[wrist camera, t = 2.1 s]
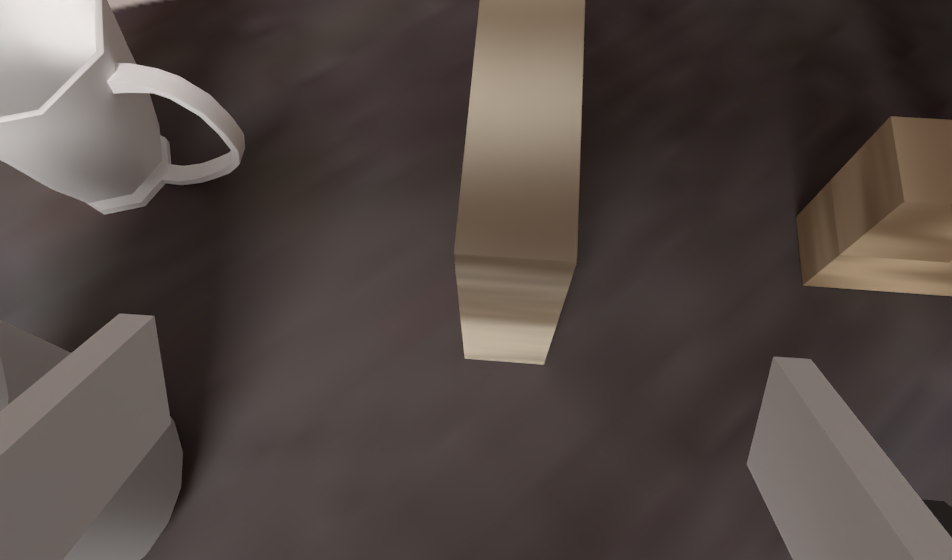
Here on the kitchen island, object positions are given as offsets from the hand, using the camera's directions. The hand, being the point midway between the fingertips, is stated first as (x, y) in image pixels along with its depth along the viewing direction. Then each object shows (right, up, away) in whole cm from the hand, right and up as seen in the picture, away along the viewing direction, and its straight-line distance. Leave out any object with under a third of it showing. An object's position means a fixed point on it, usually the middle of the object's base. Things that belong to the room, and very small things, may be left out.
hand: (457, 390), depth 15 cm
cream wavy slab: (+2, +5, +13) cm, 14 cm away
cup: (-13, +7, +14) cm, 21 cm away
